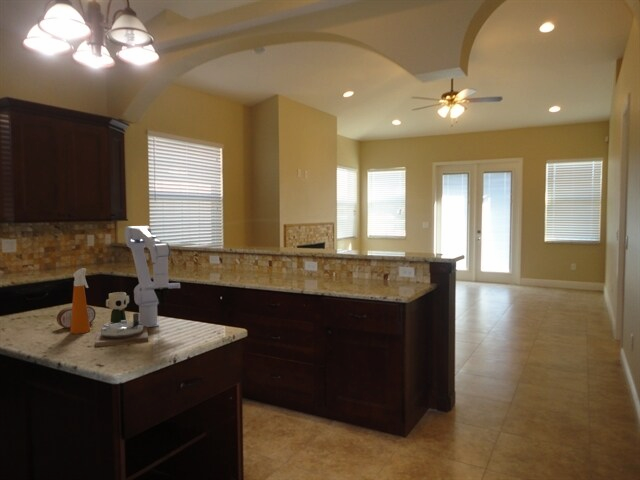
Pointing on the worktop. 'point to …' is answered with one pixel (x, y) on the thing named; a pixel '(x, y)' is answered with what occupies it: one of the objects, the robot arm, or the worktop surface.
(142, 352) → the worktop surface
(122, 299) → the character mug
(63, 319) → the tin
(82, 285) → the spray bottle
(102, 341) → the base board
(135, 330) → the grey disc with blocks
